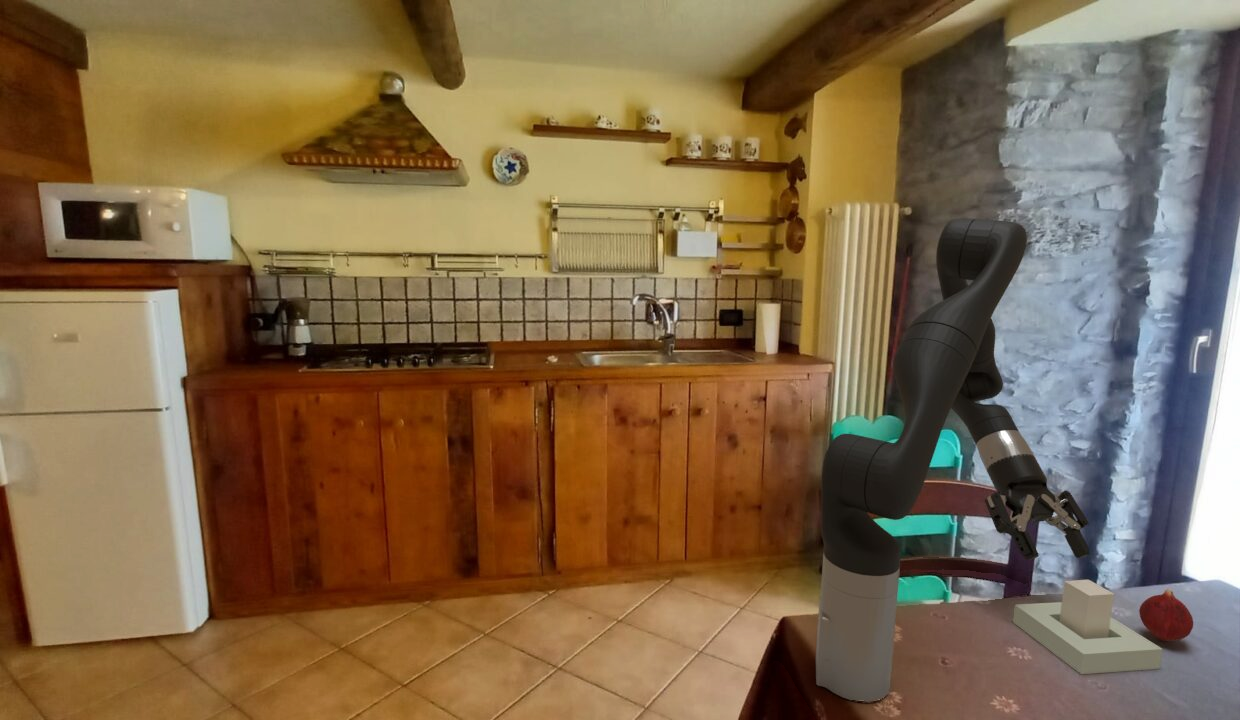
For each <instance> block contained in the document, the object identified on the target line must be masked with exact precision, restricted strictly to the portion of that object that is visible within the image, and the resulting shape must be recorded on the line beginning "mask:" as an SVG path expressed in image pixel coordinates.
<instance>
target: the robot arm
mask: <svg viewBox="0 0 1240 720" xmlns="http://www.w3.org/2000/svg"><path fill="white" fill-rule="evenodd" d="M1027 237H1028V236H1027V231H1026V228H1025V227H1024V226H1023V225H1022V224H1021V223H1018V222H1014V221H1009V220H1000V219H999V220H997V219H995V220H994V219H979V218H978V219H977V218H954V219H951V220H950V221H949V222H947V223H946V225H944V228H943V229H942V231H941V233H940V236H939V238H938V242H937V247H936V255H935V259H936V260H935V262H936V270H937V277H938V283H939V287H940V292H941V297H942V300H941V301H940V302H937V303H936V304H934V305H932V306H931V307H929V308H928V309H926V310H924V311H923V312H922V313H920V314H919V315H918V316H916V318H914V319H913V321H912V322H911V323H910V325H909V326H908V327H907V330H906V332H905V334H903V335H904V336H903V338H902V340H901V341H900V343H899V345H898V347H897V348H896V349H897V350H896V351H895V353H894V356H893V360H892V370H893V376H894V380H895V383H896V386H897V389H898V393H899V396H900V398H901V401H902V405H903V410H904V417H905V418H904V419H905V420H904V425H903V428H902V431H901V434H900V435H899V437H898V439H897V440H896V441H894V442H890V441H886V440H881V439H877V438H872V437H867V436H865V435H864V436H863V435H859V434H853V433H842V434H839V435H837V436H836V437H834V438H833V439H832V440H831V442H830V444H829V445H828V447H827V448H826V452H825V455H824V458H823V461H822V469H821V487H820V489H821V490H820V491H821V493H820V495H821V496H820V498H821V499H820V500H821V501H820V502H821V503H820V504H821V505H820V506H821V509H820V510H821V513H820V514H821V515H820V517H821V518H820V533H821V538H822V541H823V554H822V569H821V570H822V571H821V584H820V586H821V587H820V596H819V602H818V617H817V618H818V619H817V630H816V634H817V635H816V649H815V679H816V680H815V682H816V683H815V684H816V685H817V686H818V687H822V688H826V689H827V690H829V691H831V692H832V693H833V694H835V695H837V696H839V697H841V698H843V699H847V700H850V701H852V700H864V701H874V700H878V699H881V698H883V697H885V696H886V695H887V694H889V693H890V689H891V681H892V667H893V666H892V665H893V654H894V642H895V639H894V638H895V629H896V619H897V618H896V615H897V604H898V593H899V583H900V582H899V580H900V568H901V559H902V552H901V546H900V544H899V542H898V541H897V539H896V538H895V537H894V536H893V535H892V534H891V533H889V532H888V531H887V530H885V529H884V528H883V527H882V526H881V525H879V524H878V523H877V522H876V521H875V520H874V519H873V518H872V517H871V515H870V514H872V515H874V516H877V517H880V518H884V519H888V520H893V521H898V520H902V519H904V518H905V517H906V516H907V515H908V514H909V513H910V512H912V510H913V509H914V507H915V505H916V503H917V501H918V500H919V497H920V494H921V492H922V489H923V486H924V484H925V481H926V478H927V474H928V472H929V469H930V466H931V463H932V460H933V457H934V455H935V451H936V447H937V445H938V442H939V438H940V437H941V433H942V431H943V428H944V426H945V423H946V422H947V421H946V420H947V419H948V417H949V414H950V411H951V410H952V411H953V412H954V413H955V414H956V416H957V417H959V419H960V420H961V421H962V422H963V423H964V425H965V426H966V428H967V430H968V432H969V434H970V435H971V437H972V439H973V442H974V444H975V446H976V449H977V451H978V454H979V458H980V460H981V461H982V463H983V467H984V468H985V470H986V473H987V475H988V476H989V479H990V481H991V483H992V485H993V486H994V489H995V491H996V492H995V491H994V492H992V494H990V495H988V497H986V498H985V499H984V503H985V505H986V508H987V511H988V512H989V515H990V518H991V520H992V523H993V525H994V528H995V530H996V532H997V533H999V534H1007V535H1009V536H1010V537H1012V539H1013V540H1014V543H1015V545H1016V547H1017V549H1018V551H1019V553H1020V554H1021V555H1022V557H1024V559H1025V560H1027V561H1032V560H1034V559H1036V558H1038V557H1039V551H1038V550H1037V548H1036V546H1035V544H1034V542H1033V540H1032V538H1031V536H1030V534H1029V533H1028V532H1026V529H1027V525H1028V523H1031V522H1034V521H1035V522H1039V523H1040V522H1041V523H1042V522H1045V523H1047V524H1048V525H1049V526H1052V527H1055V528H1057V530H1060V532H1062V533H1063V534H1064V538H1065V540H1066V543H1067V544H1068V545H1069V548H1070V549H1071V551H1072V553H1073V555H1074V557H1075V558H1077V559H1083V558H1084V557H1088V556H1089V555H1090V547H1089V545H1088V543H1087V541H1086V540H1085V538H1084V536H1083V534H1082V532H1081V530H1082V529H1084V528H1085V527H1087V526H1089V524H1090V523H1089V520H1088V518H1087V517H1086V516H1085V514H1084V513H1083V511H1082V509H1081V508H1080V506H1079V504H1078V503H1077V502H1076V500H1075V498H1074V497H1073V495H1072V494H1071V492H1070V491H1068V490H1063V491H1062V492H1058V493H1053V492H1052V491H1051V490H1049V488H1048V485H1047V484H1048V478H1047V477H1046V475H1045V473H1044V471H1043V469H1042V467H1041V465H1040V463H1039V462H1038V459H1037V458H1036V456H1035V454H1034V452H1033V451H1032V449H1031V447H1030V445H1029V444H1028V442H1027V441H1026V439H1025V438H1024V437H1023V435H1022V434H1021V432H1020V431H1019V429H1018V427H1017V426H1016V423H1015V422H1014V420H1013V418H1012V416H1011V414H1010V412H1009V411H1008V409H1007V408H1006V407H1005V406H1003V405H1002V404H991V403H990V404H987V403H984V404H983V403H977V402H980V401H985V400H989V399H992V398H995V397H997V396H998V395H999V394H1000V393H1001V392H1002V390H1003V387H1004V383H1003V378H1002V376H1001V373H1000V370H999V369H998V366H997V363H996V359H995V346H996V345H995V344H996V327H995V324H994V321H993V319H992V316H993V314H994V313H995V310H996V308H997V306H998V305H999V303H1000V301H1001V299H1002V298H1003V296H1004V295H1005V292H1006V290H1007V289H1008V287H1009V286H1010V284H1011V282H1012V280H1013V278H1014V276H1015V274H1016V273H1017V271H1018V270H1019V267H1020V265H1021V262H1022V260H1023V258H1024V255H1025V251H1026V249H1027V243H1028V238H1027ZM967 281H972V282H971V283H970V284H968V282H967ZM1007 509H1008V510H1010V515H1009V513H1008V510H1007ZM1054 513H1055V514H1056V515H1054ZM888 692H889V693H888ZM887 696H888V695H887ZM887 696H886V697H887ZM886 697H885V698H886ZM883 699H884V698H883ZM881 700H882V699H881Z"/></svg>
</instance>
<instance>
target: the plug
mask: <svg viewBox="0 0 1240 720" xmlns="http://www.w3.org/2000/svg"><path fill="white" fill-rule="evenodd" d="M1114 597H1115V593H1113V592H1111V591H1110V590H1107V589H1106V588H1104V587H1103V586H1101V585H1099V584H1097V583H1095V582H1094V581H1092V580H1091V579H1077V580H1075V579H1074V580H1065V581H1064V583H1063V590H1062V598H1061V602H1062V605H1061V612H1060V620H1059V622H1060V623H1061V624H1063V625H1064V626H1066V627H1067V628H1069V629H1070V630H1071V631H1073V632H1074V633H1076V634H1077V635H1079V636H1080V637H1082V638H1083V639H1096V638H1108V634H1109V627H1110V620H1111V617H1112V613H1113V605H1114V600H1115V599H1114Z"/></svg>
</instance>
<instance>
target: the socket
mask: <svg viewBox="0 0 1240 720" xmlns="http://www.w3.org/2000/svg"><path fill="white" fill-rule="evenodd" d="M1061 605H1062V601H1057V602H1056V601H1055V602H1042V603H1041V602H1039V603H1020V604H1014V611H1013V620H1012V622H1013V624H1014V625H1016V626H1017V627H1018V628H1020V629H1021V630H1022V631H1023V632H1025V633H1026V634H1028V635H1029V636H1030V637H1031V638H1033V639H1034V640H1035V641H1037V642H1039V644H1041V646H1043V647H1044V648H1046V649H1047V650H1048V651H1050V652H1051V653H1052V654H1054V655H1055V656H1056V657H1058V658H1059V659H1061V661H1063V662H1064V663H1066V664H1067V665H1069V667H1071V668H1072V669H1074V670H1075V671H1076V672H1077V673H1079V674H1080V675H1088V674H1089V675H1091V674H1102V673H1103V674H1104V673H1119V672H1132V671H1133V672H1135V671H1147V670H1148V671H1149V670H1160V668H1161V662H1162V656H1163V650H1164V649H1163V648H1162V647H1160V646H1159V645H1157V644H1155V643H1154V642H1152V641H1150V640H1149V639H1147V638H1146V637H1144V636H1143V635H1141V634H1139V633H1138V632H1136V631H1134V630H1133V629H1131V628H1129V627H1127V626H1126V625H1124V624H1123V623H1121V622H1119V621H1118V620H1116V619H1115V618H1114V617H1112V616H1111V620H1110V627H1109V634H1108V638H1096V639H1083V638H1082V637H1080V636H1079V635H1077V634H1076V633H1074V632H1073V631H1071V630H1070V629H1069V628H1067V627H1066V626H1064V625H1063V624H1061V623H1060V622H1059V620H1060V612H1061Z"/></svg>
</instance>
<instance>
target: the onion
mask: <svg viewBox="0 0 1240 720" xmlns="http://www.w3.org/2000/svg"><path fill="white" fill-rule="evenodd" d="M1138 612H1139V617H1140V620H1141V622H1142V624H1143V626H1144V627H1145V628H1146V629H1147V630H1148V631H1149V632H1150V633H1151V634H1152V635H1153V636H1154V637H1156V639H1158V640H1159V641H1161V642H1173V641H1179V640H1182V639H1185V638H1187V637H1188V636H1190V634H1191V632H1192V630H1193V628H1194V619H1193V616H1192V614H1191V612H1190V610H1189V609H1188V608H1187V606H1186V605H1185V604H1184V603H1183V602H1182V601H1181V600H1179V599H1178V598H1176V596H1175V595H1174V592H1173V591H1172V589H1169V588H1167V589H1165V590H1164V592H1163V593H1162V594H1157V595H1152V596H1150V597H1148V598H1147V599H1145V600H1144V601H1143V602H1142V603H1141V605H1140V606H1139V610H1138Z"/></svg>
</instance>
